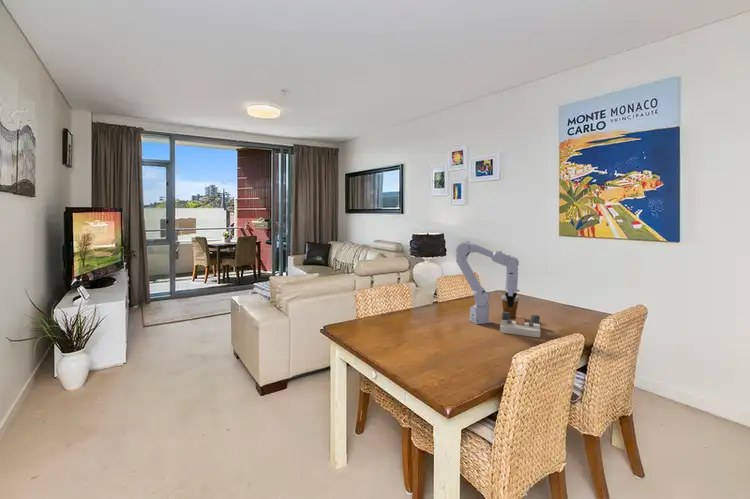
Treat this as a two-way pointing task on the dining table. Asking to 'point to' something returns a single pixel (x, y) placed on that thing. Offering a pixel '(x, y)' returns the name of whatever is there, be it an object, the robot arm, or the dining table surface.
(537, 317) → the post
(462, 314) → the dining table surface
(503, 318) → the post
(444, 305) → the dining table surface
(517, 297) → the disposable coffee cup
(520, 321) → the tan rectangular block
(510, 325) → the panel
